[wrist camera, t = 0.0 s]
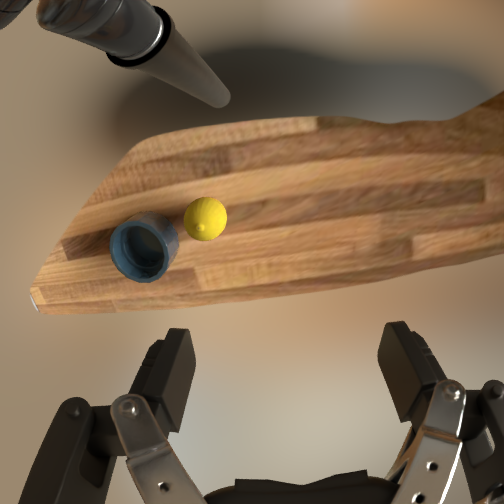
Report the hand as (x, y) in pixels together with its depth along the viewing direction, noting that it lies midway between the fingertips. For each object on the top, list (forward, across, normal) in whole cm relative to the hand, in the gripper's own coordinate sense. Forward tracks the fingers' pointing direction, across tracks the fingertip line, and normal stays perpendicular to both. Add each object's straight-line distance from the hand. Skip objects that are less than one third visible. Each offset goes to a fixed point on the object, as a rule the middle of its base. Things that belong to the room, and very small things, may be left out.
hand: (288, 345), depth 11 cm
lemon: (+31, +9, +2) cm, 32 cm away
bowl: (+31, +19, +6) cm, 37 cm away
